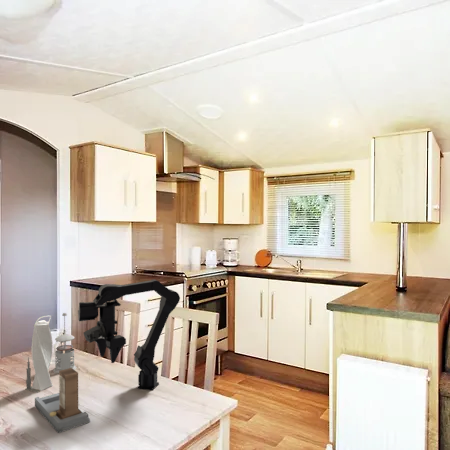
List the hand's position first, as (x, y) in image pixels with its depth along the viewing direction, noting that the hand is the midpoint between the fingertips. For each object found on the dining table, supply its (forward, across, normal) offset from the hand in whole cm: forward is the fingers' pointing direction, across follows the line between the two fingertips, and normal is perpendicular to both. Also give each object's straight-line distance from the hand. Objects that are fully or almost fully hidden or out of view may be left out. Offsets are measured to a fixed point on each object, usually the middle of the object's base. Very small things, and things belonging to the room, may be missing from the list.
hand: (107, 359), depth 148 cm
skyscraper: (+14, -24, -16) cm, 32 cm away
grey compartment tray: (+13, +4, -18) cm, 22 cm away
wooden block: (+12, +10, -18) cm, 24 cm away
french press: (+13, -38, -2) cm, 41 cm away
